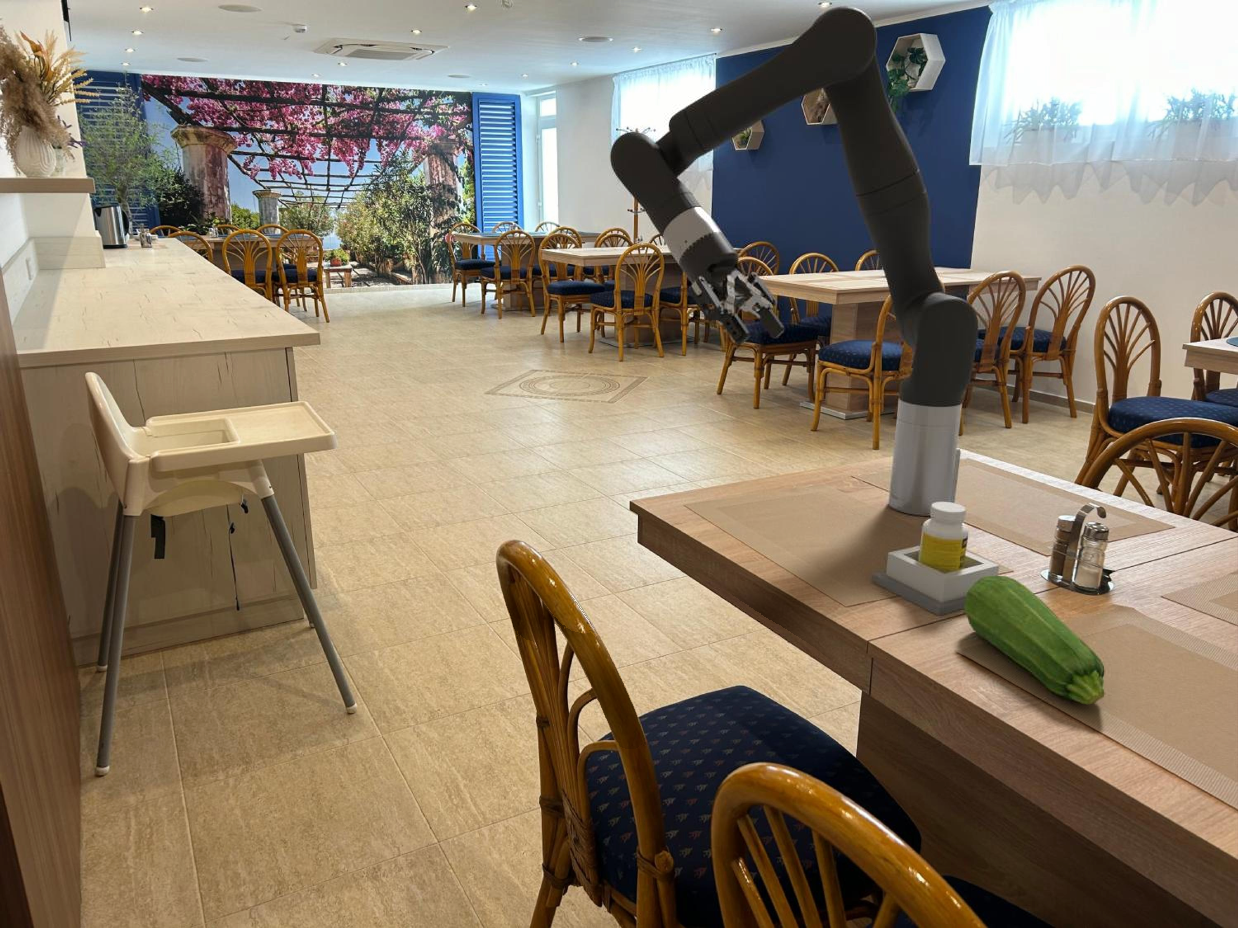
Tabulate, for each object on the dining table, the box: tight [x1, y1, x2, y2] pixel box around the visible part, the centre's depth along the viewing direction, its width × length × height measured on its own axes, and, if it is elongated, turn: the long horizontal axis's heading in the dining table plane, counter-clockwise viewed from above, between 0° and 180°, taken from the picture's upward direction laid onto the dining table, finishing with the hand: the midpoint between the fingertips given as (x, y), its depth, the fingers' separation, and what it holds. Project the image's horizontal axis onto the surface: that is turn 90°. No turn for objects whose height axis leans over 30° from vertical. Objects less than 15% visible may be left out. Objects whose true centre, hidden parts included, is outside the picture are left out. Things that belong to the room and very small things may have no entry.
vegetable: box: [963, 575, 1106, 705], centre depth 93 cm, size 7×7×20 cm
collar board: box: [871, 545, 1000, 616], centre depth 112 cm, size 12×11×4 cm
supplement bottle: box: [918, 502, 969, 574], centre depth 111 cm, size 5×5×10 cm
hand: (762, 337), depth 124 cm, fingers open, 8 cm apart
